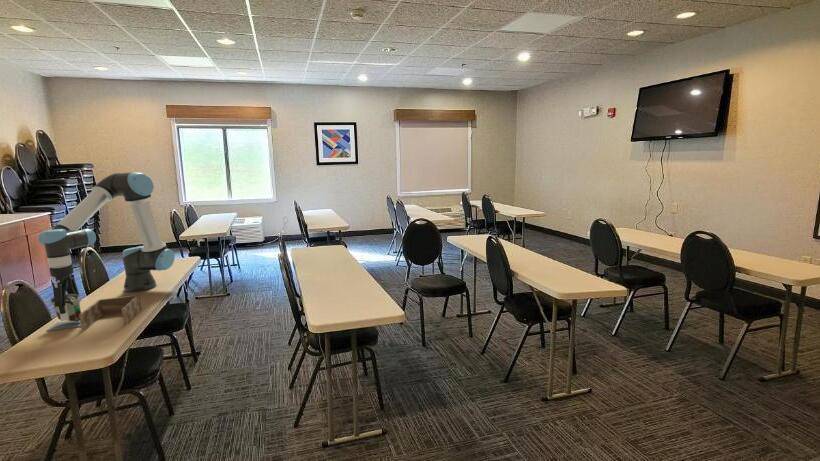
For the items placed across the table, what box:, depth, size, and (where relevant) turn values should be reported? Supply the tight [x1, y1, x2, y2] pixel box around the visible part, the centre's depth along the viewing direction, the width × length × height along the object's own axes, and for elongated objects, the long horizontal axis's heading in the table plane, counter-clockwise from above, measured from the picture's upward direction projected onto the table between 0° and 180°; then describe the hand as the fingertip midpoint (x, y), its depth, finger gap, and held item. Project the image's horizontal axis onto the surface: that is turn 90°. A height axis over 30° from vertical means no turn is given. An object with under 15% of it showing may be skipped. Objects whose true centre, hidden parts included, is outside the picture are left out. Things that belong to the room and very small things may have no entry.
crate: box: [79, 294, 142, 331], centre depth 182 cm, size 20×16×7 cm
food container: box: [50, 293, 82, 322], centre depth 178 cm, size 12×6×10 cm, turn 79°
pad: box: [45, 320, 81, 332], centre depth 178 cm, size 9×14×1 cm, turn 108°
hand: (70, 316), depth 177 cm, fingers open, 9 cm apart
